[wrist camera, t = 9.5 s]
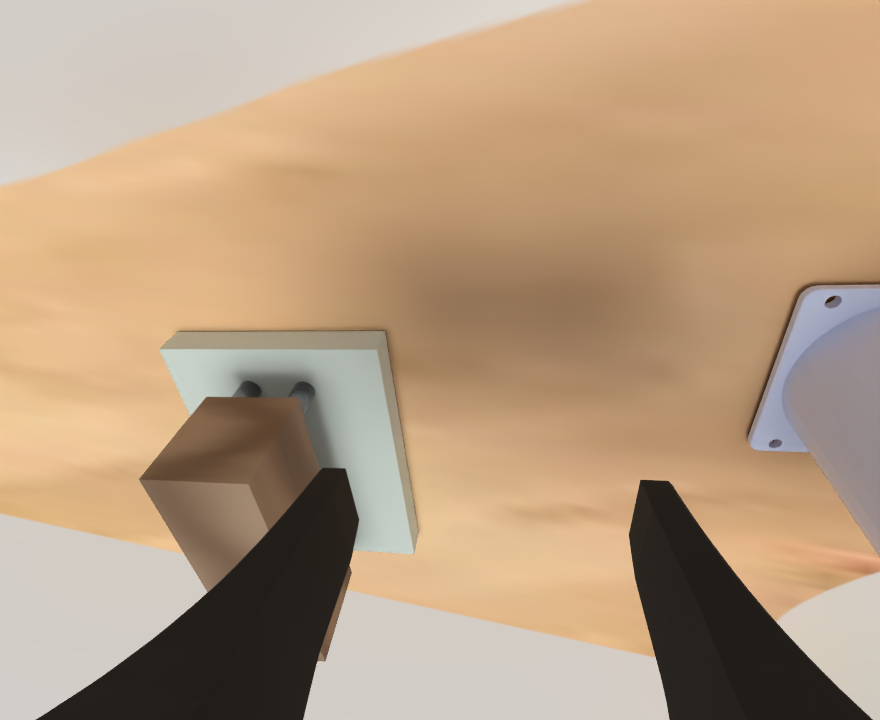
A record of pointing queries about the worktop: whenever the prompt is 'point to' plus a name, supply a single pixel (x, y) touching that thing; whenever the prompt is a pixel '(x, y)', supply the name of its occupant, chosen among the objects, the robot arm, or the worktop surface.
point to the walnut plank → (233, 482)
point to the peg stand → (318, 409)
